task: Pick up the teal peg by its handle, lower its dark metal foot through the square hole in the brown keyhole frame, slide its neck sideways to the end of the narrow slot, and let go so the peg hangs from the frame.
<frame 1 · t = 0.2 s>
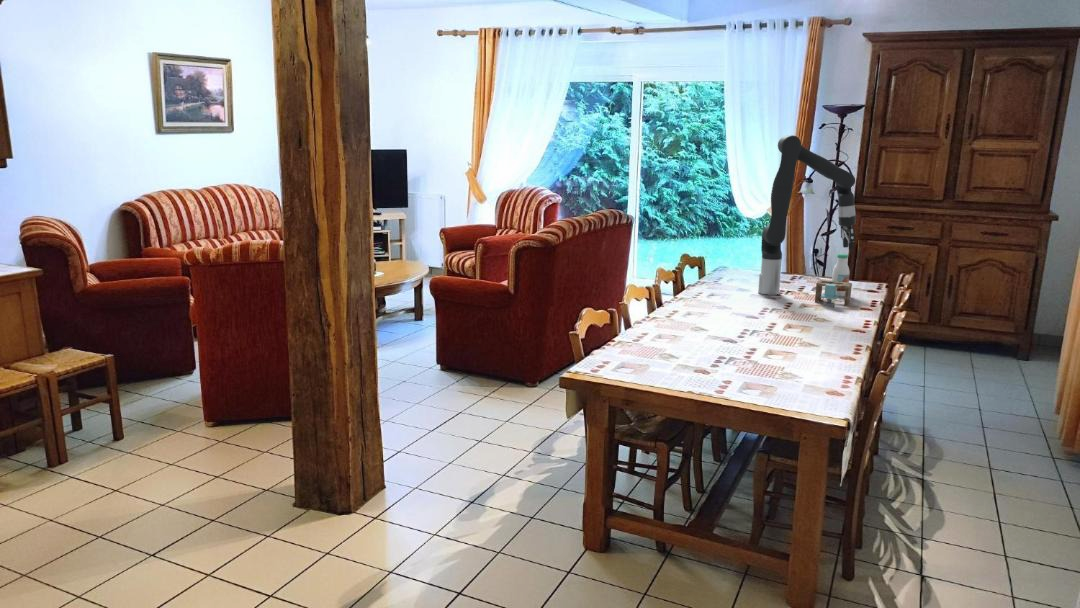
hand: (848, 248, 367), 22 cm above the table, tool pointing down, fingers open, 8 cm apart
milk bottle: (838, 295, 370), on the table
brown keyhole frame: (832, 302, 355), on the table
teal peg: (828, 305, 347), on the table
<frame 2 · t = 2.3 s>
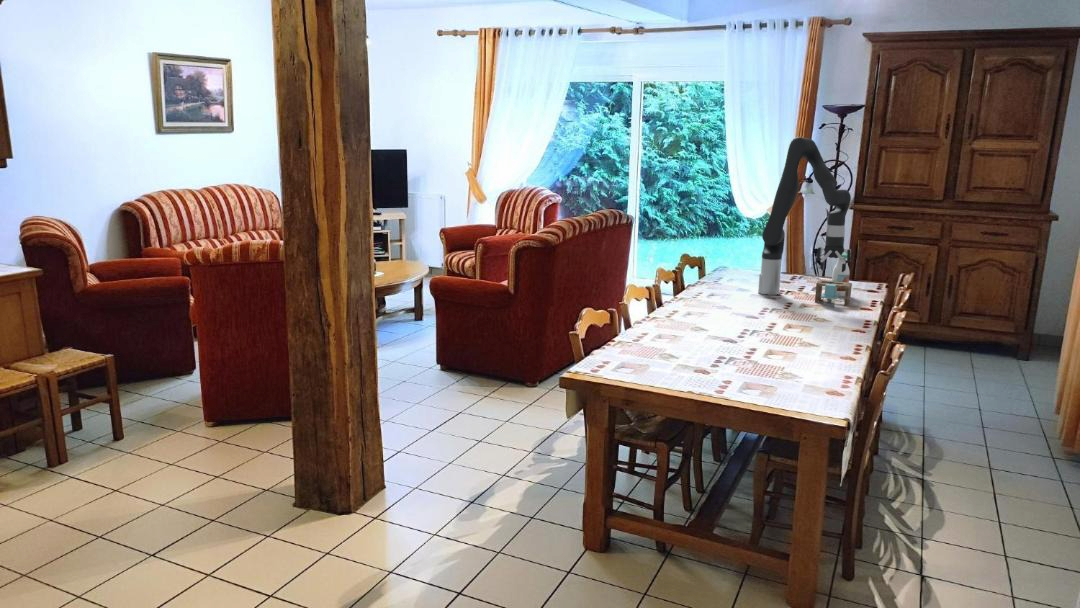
hand: (832, 271, 344), 16 cm above the table, tool pointing down, fingers open, 8 cm apart
nothing on the table moved.
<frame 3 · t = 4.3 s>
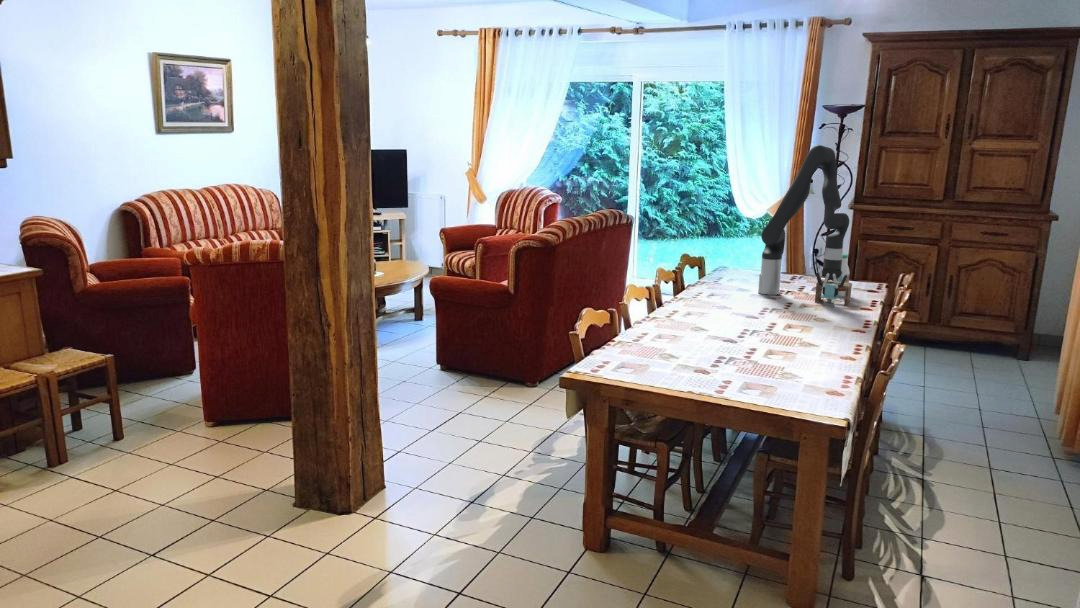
hand: (829, 295, 346), 5 cm above the table, tool pointing down, fingers closed on teal peg, 4 cm apart
teal peg: (828, 305, 347), on the table, touching gripper
everything else where it was.
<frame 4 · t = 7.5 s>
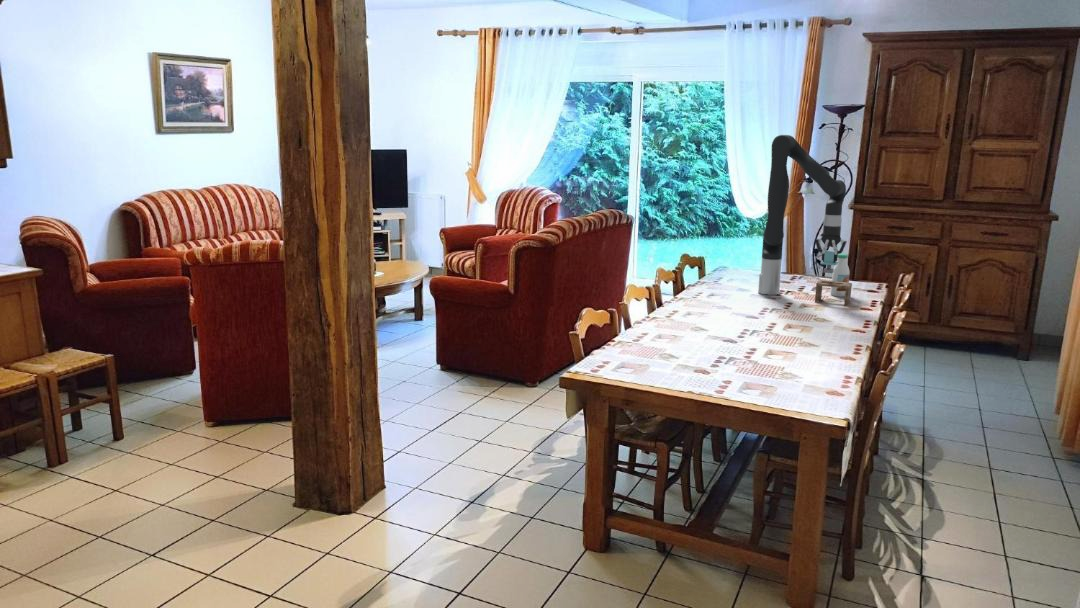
hand: (829, 261, 352), 19 cm above the table, tool pointing down, fingers closed on teal peg, 4 cm apart
teal peg: (828, 272, 354), point 14 cm above the table, touching gripper
everything else where it was.
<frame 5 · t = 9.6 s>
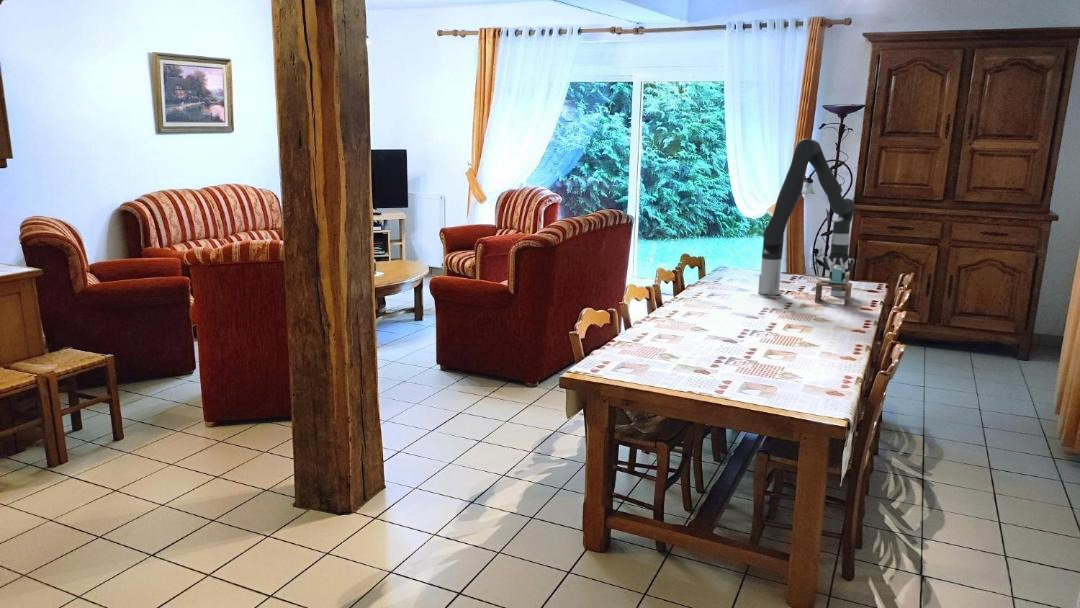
hand: (836, 279, 352), 11 cm above the table, tool pointing down, fingers closed on teal peg, 4 cm apart
teal peg: (836, 290, 353), point 6 cm above the table, touching gripper
everything else where it was.
when the fingers open (10 cm above the table, at t = 11.1 s): teal peg stays where it is, resting on brown keyhole frame.
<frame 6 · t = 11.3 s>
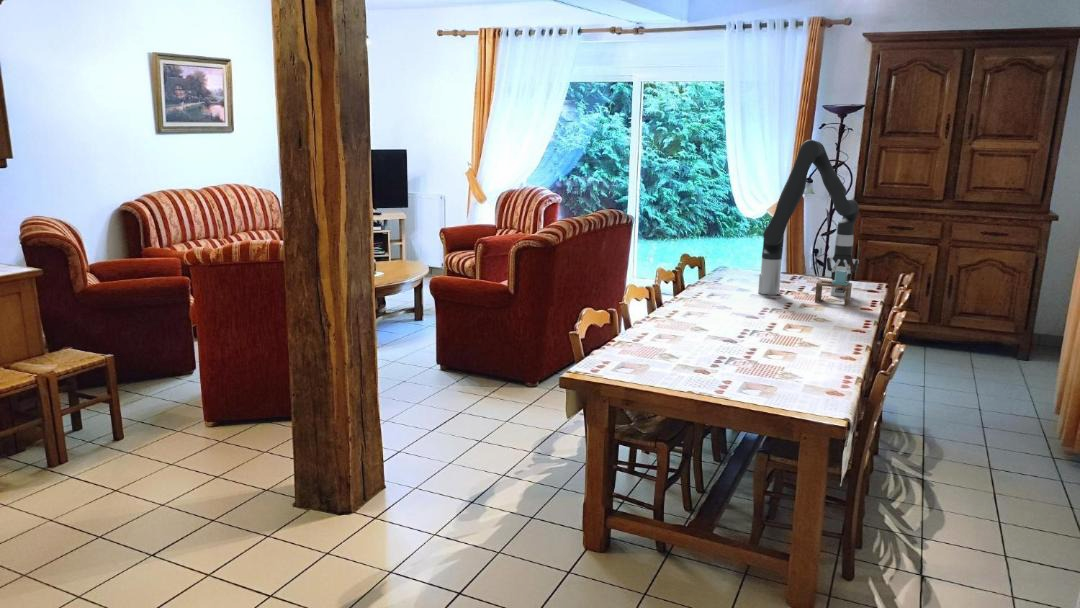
hand: (840, 280, 351), 10 cm above the table, tool pointing down, fingers open, 5 cm apart
teal peg: (839, 292, 353), point 5 cm above the table, touching brown keyhole frame
everything else where it was.
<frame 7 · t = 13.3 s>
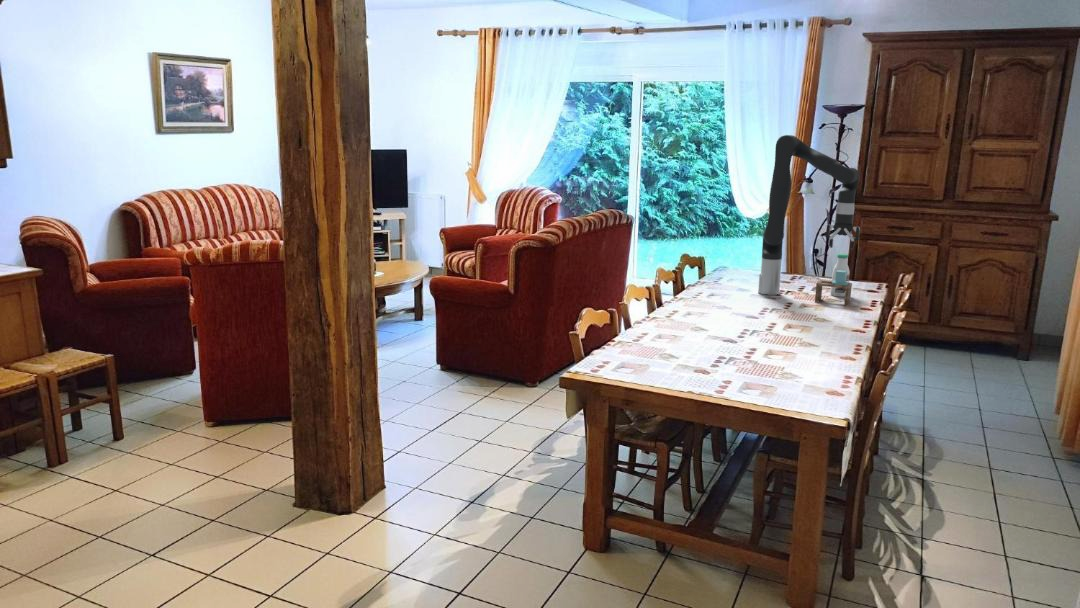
hand: (841, 248, 349), 25 cm above the table, tool pointing down, fingers open, 8 cm apart
nothing on the table moved.
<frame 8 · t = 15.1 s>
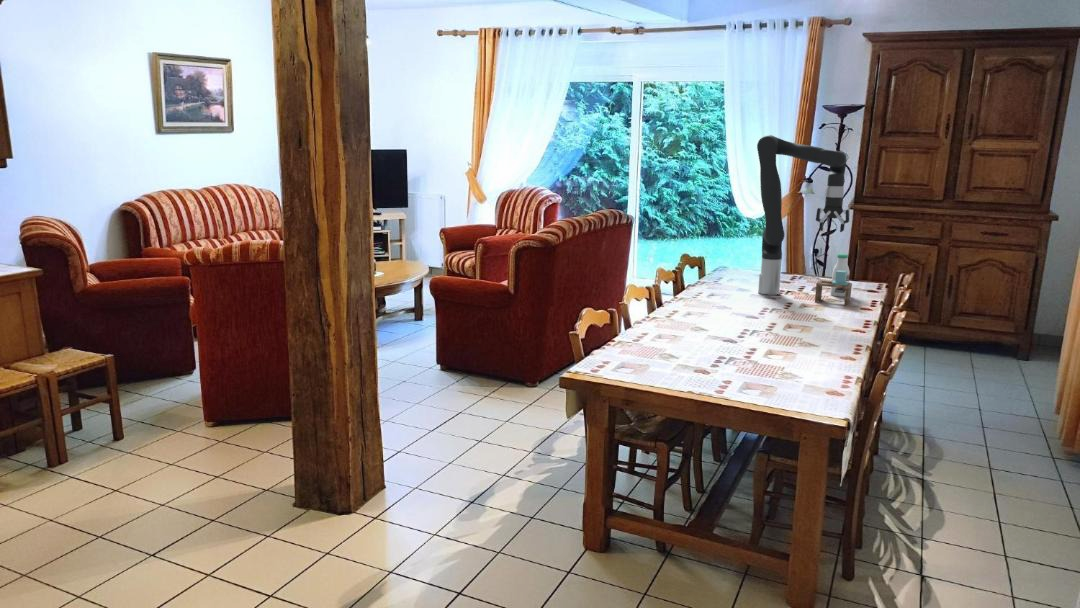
hand: (831, 231, 354), 32 cm above the table, tool pointing down, fingers open, 8 cm apart
nothing on the table moved.
at the end: teal peg 0.1 cm from the target spot on the brown keyhole frame, point 5.0 cm above the brown keyhole frame's base; the gripper is holding nothing; teal peg tilted 0° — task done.
